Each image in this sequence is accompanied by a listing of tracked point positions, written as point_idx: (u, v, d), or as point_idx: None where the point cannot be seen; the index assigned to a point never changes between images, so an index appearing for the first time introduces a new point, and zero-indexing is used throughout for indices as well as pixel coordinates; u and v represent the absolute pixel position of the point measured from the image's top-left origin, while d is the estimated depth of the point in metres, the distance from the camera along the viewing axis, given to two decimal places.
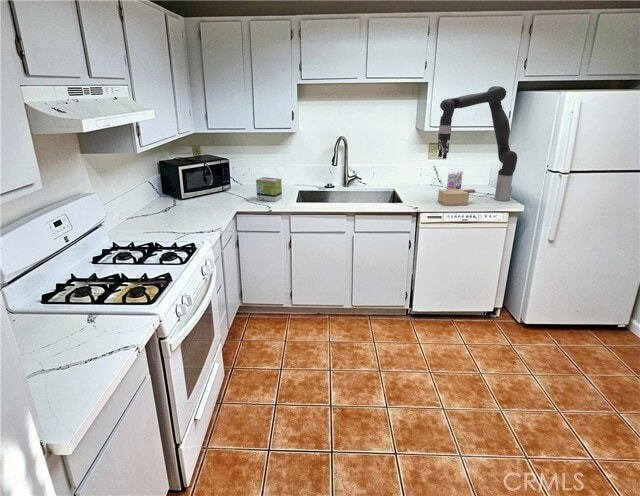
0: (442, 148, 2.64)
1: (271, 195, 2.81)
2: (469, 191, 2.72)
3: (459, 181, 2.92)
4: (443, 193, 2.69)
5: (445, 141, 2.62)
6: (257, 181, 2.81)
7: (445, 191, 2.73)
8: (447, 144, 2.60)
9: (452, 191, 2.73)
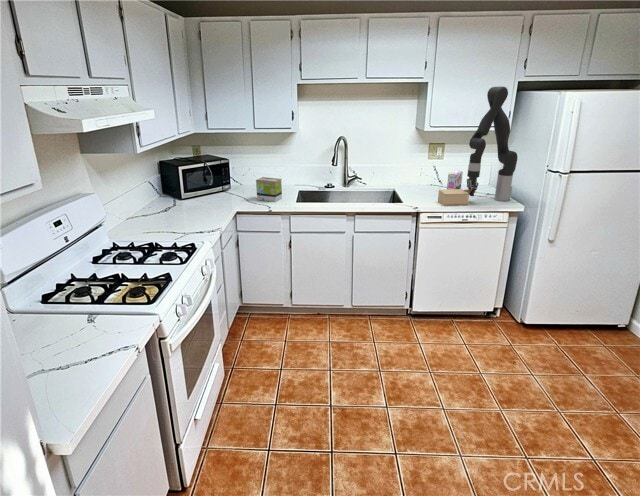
0: (470, 185, 2.70)
1: (271, 195, 2.81)
2: (469, 191, 2.72)
3: (459, 181, 2.92)
4: (443, 193, 2.69)
5: (475, 178, 2.66)
6: (257, 181, 2.81)
7: (445, 191, 2.73)
8: (476, 184, 2.65)
9: (452, 191, 2.73)
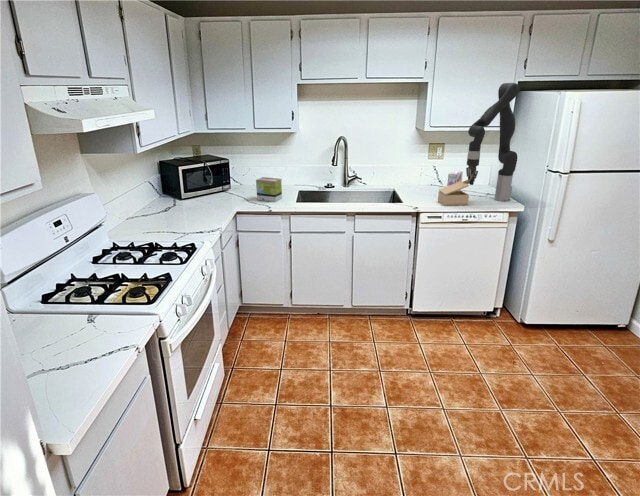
0: (470, 174, 2.67)
1: (271, 195, 2.81)
2: (468, 181, 2.69)
3: (459, 181, 2.92)
4: (443, 193, 2.69)
5: (474, 166, 2.63)
6: (257, 181, 2.81)
7: (445, 190, 2.72)
8: (476, 172, 2.62)
9: (452, 187, 2.72)
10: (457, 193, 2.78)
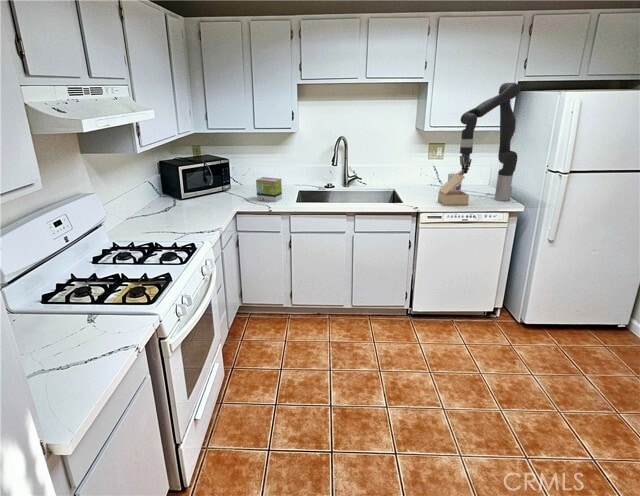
0: (464, 162, 2.64)
1: (271, 195, 2.81)
2: (463, 172, 2.67)
3: None
4: None
5: (467, 155, 2.60)
6: (257, 181, 2.81)
7: (444, 188, 2.72)
8: (469, 160, 2.59)
9: (450, 183, 2.70)
10: (457, 193, 2.78)
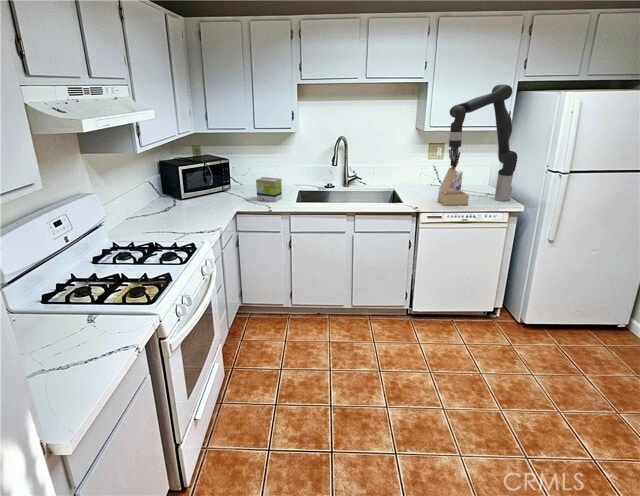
0: (452, 156, 2.61)
1: (271, 195, 2.81)
2: None
3: (459, 181, 2.92)
4: (444, 193, 2.69)
5: (456, 148, 2.58)
6: (257, 181, 2.81)
7: (443, 187, 2.72)
8: (458, 154, 2.57)
9: (446, 181, 2.70)
10: (457, 193, 2.78)
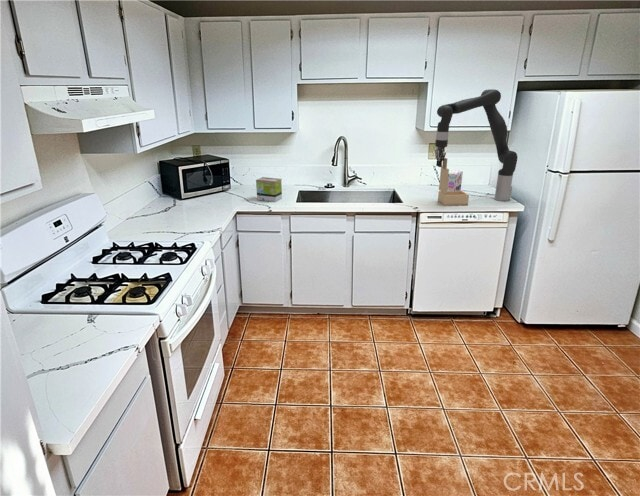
0: (438, 156, 2.61)
1: (271, 195, 2.81)
2: (445, 164, 2.64)
3: (459, 181, 2.92)
4: (444, 192, 2.69)
5: (442, 148, 2.57)
6: (257, 181, 2.81)
7: (441, 187, 2.72)
8: (443, 154, 2.56)
9: (442, 180, 2.69)
10: (457, 193, 2.78)
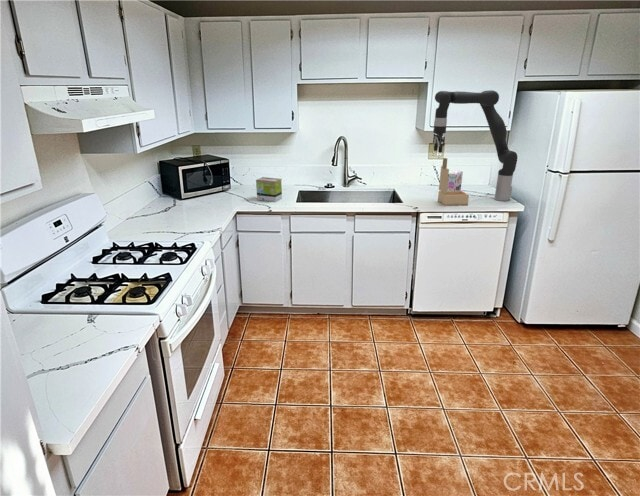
0: (437, 141, 2.56)
1: (271, 195, 2.81)
2: (445, 164, 2.64)
3: (459, 181, 2.92)
4: (444, 192, 2.69)
5: (440, 134, 2.54)
6: (257, 181, 2.81)
7: (441, 187, 2.72)
8: (442, 137, 2.52)
9: (442, 180, 2.69)
10: (457, 193, 2.78)
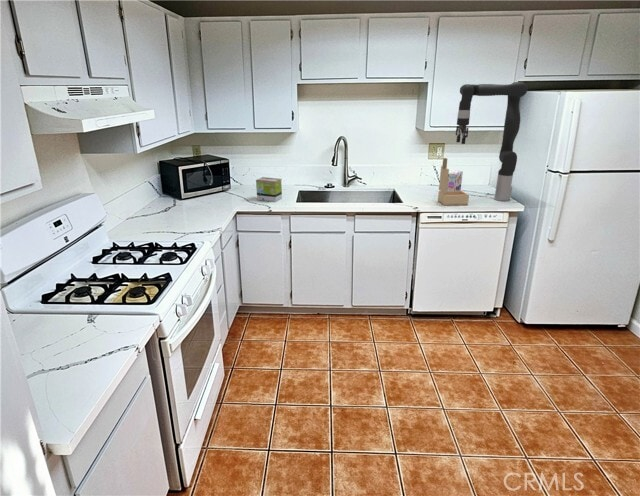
0: (461, 133, 2.65)
1: (271, 195, 2.81)
2: (445, 164, 2.64)
3: (459, 181, 2.92)
4: (444, 192, 2.69)
5: (464, 126, 2.63)
6: (257, 181, 2.81)
7: (441, 187, 2.72)
8: (466, 129, 2.61)
9: (442, 180, 2.69)
10: (457, 193, 2.78)
